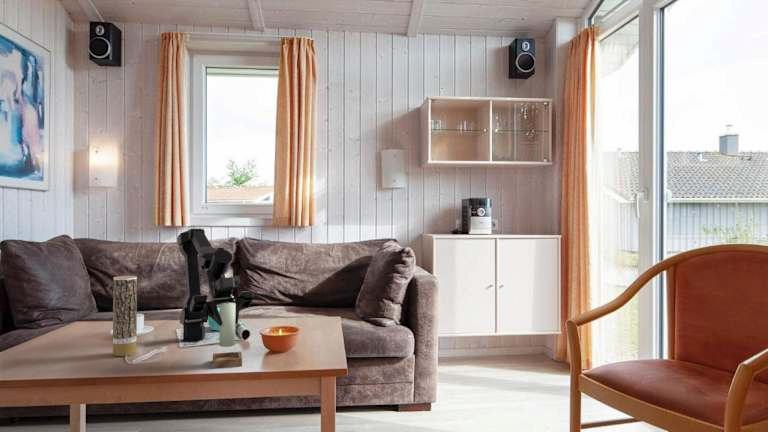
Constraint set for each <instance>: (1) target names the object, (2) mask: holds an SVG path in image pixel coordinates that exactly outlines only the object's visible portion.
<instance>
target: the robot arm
mask: <svg viewBox="0 0 768 432" xmlns="http://www.w3.org/2000/svg"><path fill="white" fill-rule="evenodd" d="M207 237H208V236H206V232H205V229H204V228H189V229H188V230H186V231H184V232H180V233H179V234H178V235H177V239H176V242H177V243H176V244H177V246H178V251H179V252H180V253H181V255H182V256H183V258H184V267H185V280H186V281H185V282H186V295H187V296H186V299H185V300H184V302H183V303H182V309H181V312H180V315H179V323H180V325H182V326H183V332H182V334H183V335H182V338H183V339H180V340H181V342H185V341H199V342H200V340H201V339H202V340H204V339H205V338H206V326H205V325H204V324H205V323H208V317H211V318H212V319H213V320H214V321H215V322H216V323H217V324H218V325H219V326H221V325H222V322H221V318H220V315H219V312H218V309H217V308H218V306H220V304H221V303H227V301H228V303H235V304H236V313H235V323H236V325H237V324H238V323H239V315H240V311H241V309H246V308H249V307H251V306H252V305H251V304H252V303H253V301H254V299H255V295H254V292H253V291H252V290H244V291H239V293H238V296H232V295H233V293H234V289H236V288H238V287H239V286H241V278H240V275H233V276H230V277H226V273H227V272H228V271H229V269H230V266H231V263H232V261H233V258H234V257H233V255H232V253H231V252H229V251H228V250H225V248H224V247H217V248H216V247H215V248H214V247H213V246H212V244H211V243H210V240H209V238H207ZM200 269H201V271H203V270H204V271H205V270H206V271H205V274H204V275H205V282H207V285H208V286H207V287H208V295H209V296H210V297H208V295H207V294H202V293H201V290H202V289H201V280H200V279H201V278H200ZM204 337H205V338H204ZM203 338H204V339H203ZM202 340H201V341H202Z"/></svg>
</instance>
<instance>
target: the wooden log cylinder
mask: <svg viewBox="0 0 768 432" xmlns="http://www.w3.org/2000/svg"><path fill="white" fill-rule="evenodd" d="M112 283H113V284H112V285H113V287H112V288H113V289H112V290H113V291H112V304H113V305H112V354H113V356H114V357H125V356H126V355H127V357H129V356H132V355H131V354H133V355H136V354H137V353H136V352H137V341H138V340H137V339H138V337H137V330H138V328H137V326H138V324H137V322H138V320H137V319H138V318H137V317H138V314H137V313H138V310H137V309H138V307H137V306H138V276H135V275H120V276H114V277H113V281H112Z"/></svg>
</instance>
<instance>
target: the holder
mask: <svg viewBox="0 0 768 432" xmlns="http://www.w3.org/2000/svg"><path fill="white" fill-rule="evenodd" d="M211 366H212V369H223V368H234V367H235V368H237V367H242V366H243V355H242V351H230V352H216V353H215V352H213V353H212V364H211Z"/></svg>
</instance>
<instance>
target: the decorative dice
mask: <svg viewBox="0 0 768 432" xmlns="http://www.w3.org/2000/svg"><path fill="white" fill-rule="evenodd" d="M217 309H218V312H219V315H220V307H217ZM207 324H208V327H209V328H210V329H211V330H212V331H213V330H218V331H217V332H220V326H219V325H218V324H217V323H216V322H215V321H214V320H213V319H212V318H211V317H209V316H208V320H207Z"/></svg>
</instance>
